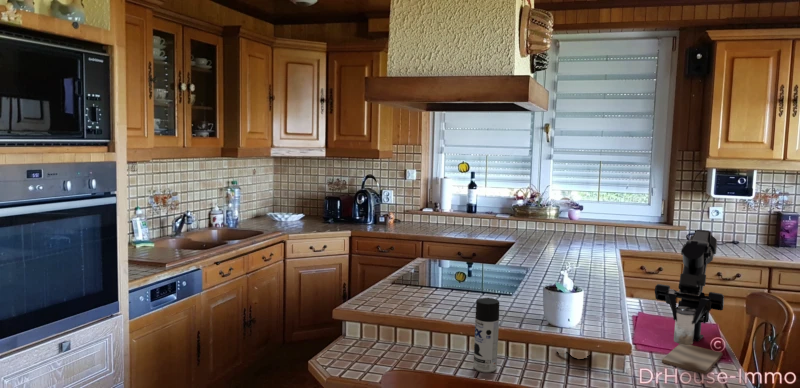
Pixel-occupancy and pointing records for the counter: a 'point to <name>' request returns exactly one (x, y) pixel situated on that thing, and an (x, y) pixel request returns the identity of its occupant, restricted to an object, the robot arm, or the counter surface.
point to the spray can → (486, 335)
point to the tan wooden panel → (692, 358)
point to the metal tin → (684, 325)
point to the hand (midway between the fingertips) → (684, 321)
